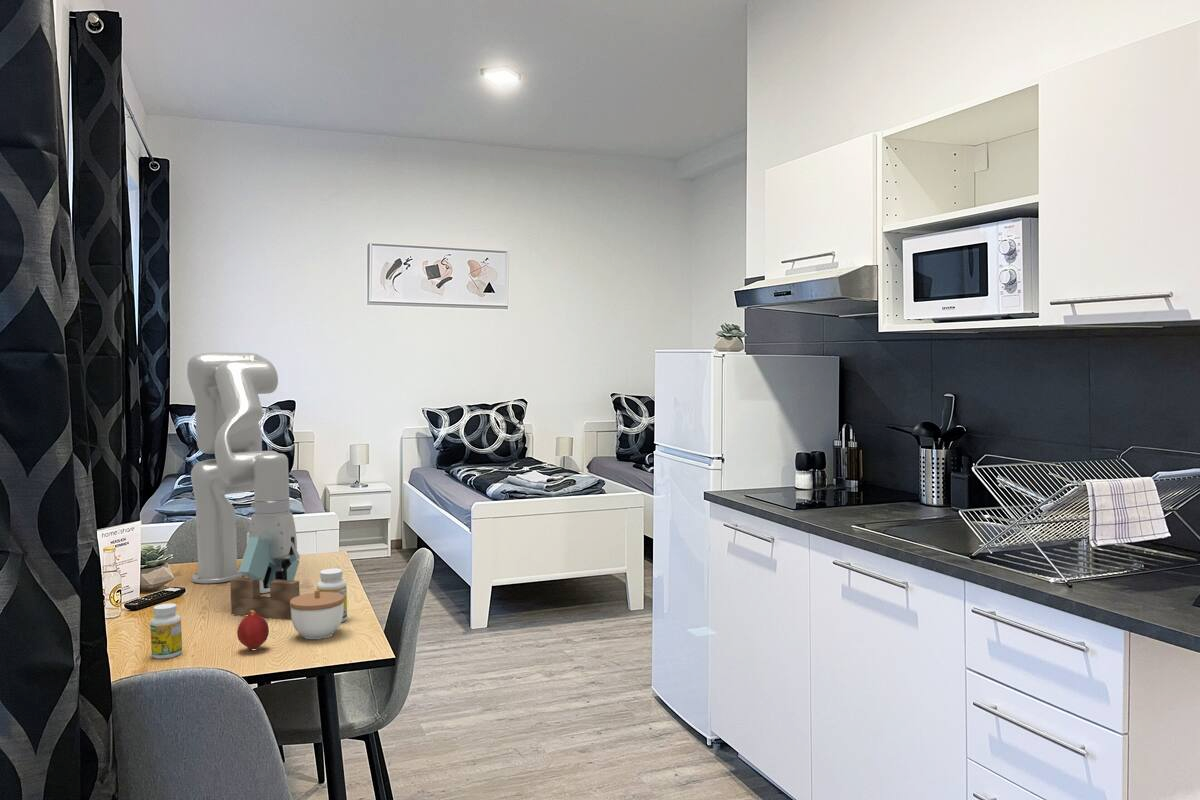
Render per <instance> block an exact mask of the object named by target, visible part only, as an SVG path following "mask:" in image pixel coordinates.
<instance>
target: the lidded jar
mask: <svg viewBox="0 0 1200 800" xmlns="http://www.w3.org/2000/svg"><path fill="white" fill-rule="evenodd" d="M290 607H291V619H290V620H291V621H292V625H293V628H294V629H295V631H296V632H297V633H298V634H299V635H301V636H302V638H303V639H304V638H305V639H304V640H308V639H318V640H322V639H321V638H324V639H327V638H326V637H328V638H330V637H329V636H331V635H332V636H334V633H335V632H336V631H337V630H338V629H339V628H340V625H341V624H342V622H341V621H342V618H343V612H344V596H343V595H342V594H340V593H335V592H320V590H317V589H316V590H315V589H314V592H309V593H303V594H300V595H299V596H297V597H294V598H292V599H291V600H290ZM332 636H331V637H332Z"/></svg>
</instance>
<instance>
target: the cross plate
mask: <svg viewBox="0 0 1200 800" xmlns="http://www.w3.org/2000/svg"><path fill="white" fill-rule="evenodd" d="M288 558H290V555H288ZM299 564H300V560H297V561H295V562H293V563H292V564H291V565H290V566H289V569H287V580H292V581H295V578H296V574H297V571H298V567H299ZM268 566H269V567H271V568H272V569H271V573H270V576H269V580H268V583H267V587H269V588H270V582H272V581H274V580H276V577H275V573H276V572H277V571H278V569H277V559H271V558H270V543H268V542H266V541H264V540H263V539H261V538H259V537H249V541H248V544H247V543H246V548H245V550H244V553H243V557H242V560H241V563H240V566H239V568H238V569H239V572H240V573H242V574H244V575H243V576H245V577H247V578H251V579H253V580H264V578H265V575H266V571H267V568H268Z"/></svg>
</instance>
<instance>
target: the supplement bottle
mask: <svg viewBox="0 0 1200 800" xmlns="http://www.w3.org/2000/svg"><path fill="white" fill-rule="evenodd" d="M177 610H178V609H177V604H176V603H162V604H157V605H154V607H153V615H154V616H153V618H151V620H150V622H149V624H150V625H149V626H150V647H151V648H150V649H151V656H152V657H153V659H157V660H162V659H171V658H174V657H177V656H179V655H181V654H182V652H183V633H182V617H181V616H180V615H179V614H178V613H177Z"/></svg>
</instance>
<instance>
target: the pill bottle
mask: <svg viewBox="0 0 1200 800" xmlns="http://www.w3.org/2000/svg"><path fill="white" fill-rule="evenodd" d="M319 574H320V575H319V577H320V581H319V582H317V585H316V590H320V592H335V593H340V594H342V595H343V596H344V612H343V618H342V621H341V623H344V622H345V621H346V620H347V619H348V597H347V596H348V595H347V592H348V591H347V582H346V581H345V579H343V578H342V577H343V569H341V568H326V569H322V570H321V571H320V572H319Z"/></svg>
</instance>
